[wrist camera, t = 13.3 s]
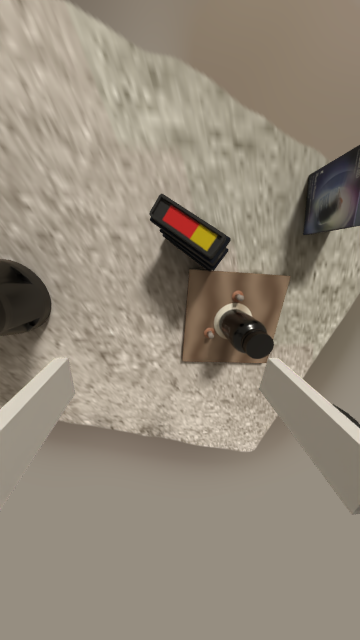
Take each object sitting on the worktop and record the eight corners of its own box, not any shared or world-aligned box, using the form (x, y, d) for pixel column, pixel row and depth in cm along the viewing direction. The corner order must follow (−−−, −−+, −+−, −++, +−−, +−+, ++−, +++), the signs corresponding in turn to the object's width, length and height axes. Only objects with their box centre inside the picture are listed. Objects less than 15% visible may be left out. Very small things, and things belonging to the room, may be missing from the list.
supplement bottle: (236, 339, 40) (263, 370, 29) (212, 328, 39) (231, 356, 27) (253, 315, 38) (288, 338, 27) (228, 302, 37) (255, 321, 26)
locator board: (182, 358, 43) (183, 366, 40) (189, 269, 36) (191, 270, 32) (263, 359, 45) (270, 367, 41) (286, 275, 37) (297, 277, 34)
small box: (306, 174, 31) (369, 134, 21) (340, 168, 31) (419, 126, 21) (301, 236, 35) (353, 226, 25) (331, 231, 35) (395, 219, 25)
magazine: (219, 279, 35) (211, 261, 21) (172, 246, 38) (136, 209, 23) (230, 264, 34) (230, 234, 20) (182, 231, 37) (150, 182, 22)
